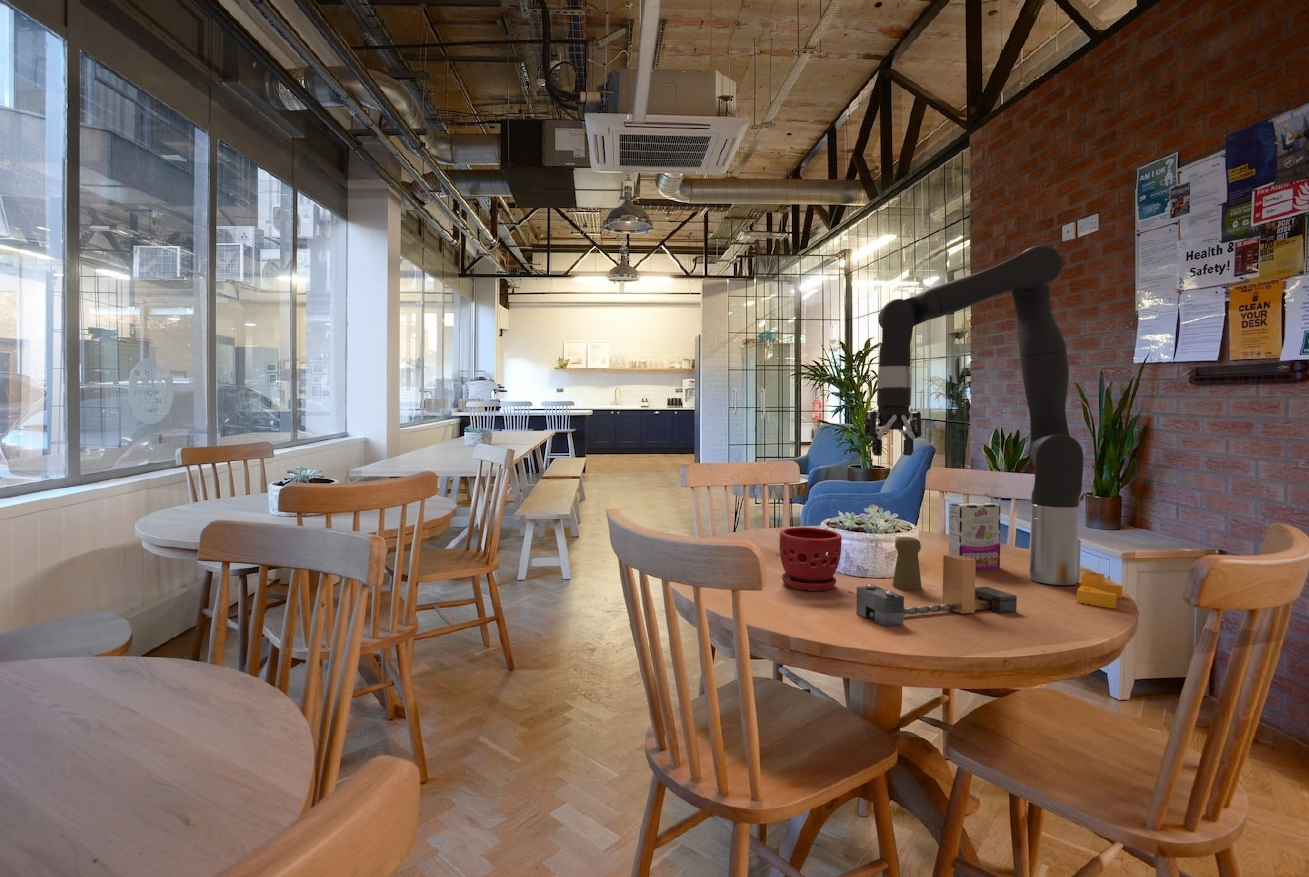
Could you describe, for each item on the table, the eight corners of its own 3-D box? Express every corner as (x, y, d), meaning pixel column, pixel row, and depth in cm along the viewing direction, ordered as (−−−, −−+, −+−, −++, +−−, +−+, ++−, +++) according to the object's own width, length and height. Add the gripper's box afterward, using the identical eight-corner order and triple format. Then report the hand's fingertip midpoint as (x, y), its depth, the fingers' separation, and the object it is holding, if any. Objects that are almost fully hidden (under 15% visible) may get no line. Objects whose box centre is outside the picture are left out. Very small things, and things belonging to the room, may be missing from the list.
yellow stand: (1086, 571, 147) (1122, 576, 143) (1085, 591, 147) (1122, 597, 143) (1077, 581, 138) (1115, 586, 133) (1076, 602, 138) (1115, 608, 134)
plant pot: (766, 585, 149) (767, 530, 149) (802, 576, 158) (803, 525, 157) (817, 597, 139) (818, 539, 139) (852, 587, 148) (853, 532, 148)
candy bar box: (986, 567, 171) (988, 502, 170) (1000, 571, 166) (1002, 504, 165) (946, 568, 168) (948, 502, 168) (959, 573, 163) (961, 505, 163)
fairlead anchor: (874, 611, 129) (874, 582, 129) (903, 624, 121) (904, 593, 121) (856, 613, 128) (856, 583, 128) (884, 626, 120) (885, 594, 120)
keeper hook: (985, 601, 137) (986, 586, 137) (1016, 611, 130) (1016, 595, 130) (970, 603, 136) (970, 588, 136) (1000, 613, 129) (1000, 597, 129)
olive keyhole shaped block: (917, 585, 151) (918, 535, 151) (925, 591, 145) (926, 540, 145) (889, 584, 152) (890, 534, 151) (896, 590, 146) (897, 539, 145)
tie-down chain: (982, 602, 136) (984, 552, 135) (1003, 609, 131) (1004, 557, 131) (861, 614, 126) (862, 560, 126) (879, 622, 121) (880, 566, 121)
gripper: (908, 388, 166) (906, 454, 167) (858, 386, 161) (857, 454, 162) (930, 386, 159) (928, 456, 159) (878, 385, 154) (877, 456, 155)
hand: (892, 455), depth 161 cm, fingers open, 8 cm apart
